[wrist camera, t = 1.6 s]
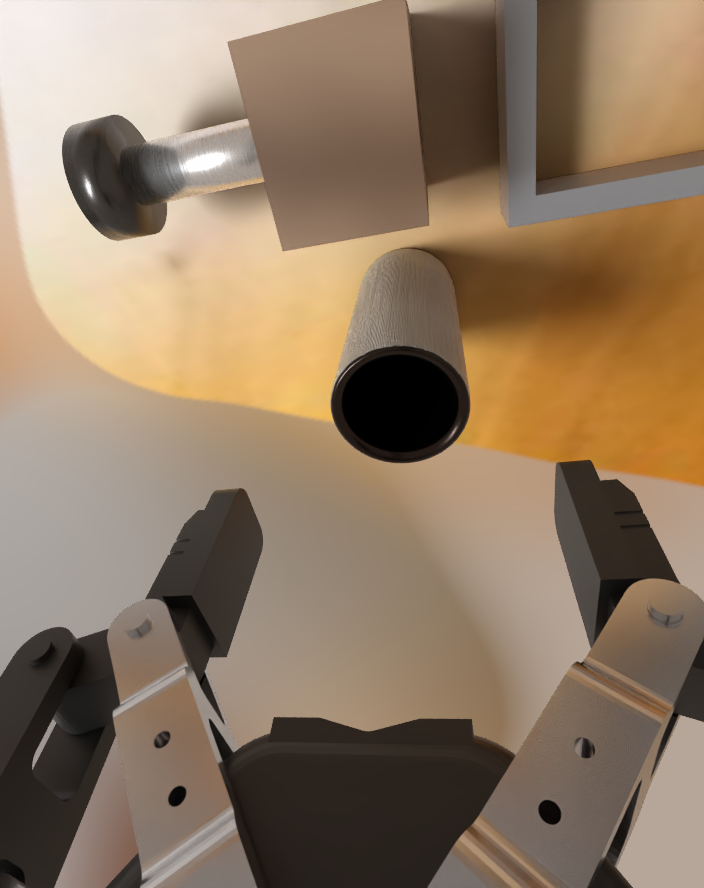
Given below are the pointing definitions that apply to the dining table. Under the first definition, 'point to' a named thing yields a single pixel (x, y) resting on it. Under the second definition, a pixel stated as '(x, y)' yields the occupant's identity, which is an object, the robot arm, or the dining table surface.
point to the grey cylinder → (403, 362)
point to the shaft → (151, 171)
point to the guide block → (337, 124)
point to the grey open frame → (518, 144)
